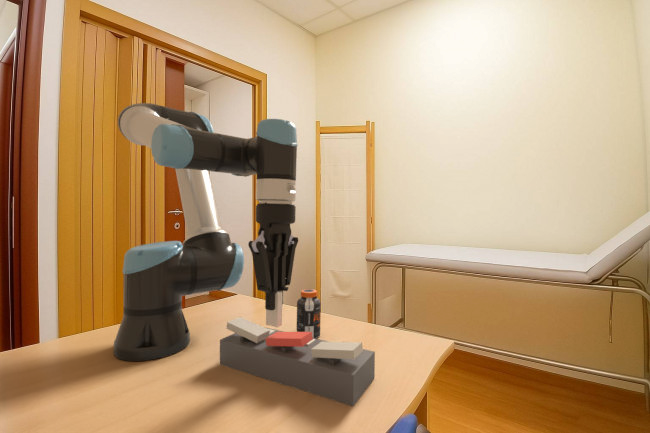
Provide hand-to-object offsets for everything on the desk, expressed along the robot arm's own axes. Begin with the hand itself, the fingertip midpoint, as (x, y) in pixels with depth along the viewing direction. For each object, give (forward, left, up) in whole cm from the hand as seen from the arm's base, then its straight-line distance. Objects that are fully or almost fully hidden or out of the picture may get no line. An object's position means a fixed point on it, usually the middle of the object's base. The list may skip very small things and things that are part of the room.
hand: (273, 324), depth 63 cm
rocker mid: (+4, 0, -2) cm, 4 cm away
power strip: (+4, +2, -9) cm, 10 cm away
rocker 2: (+14, 0, -2) cm, 14 cm away
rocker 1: (-6, 0, -2) cm, 7 cm away
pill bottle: (-3, +19, -9) cm, 21 cm away
